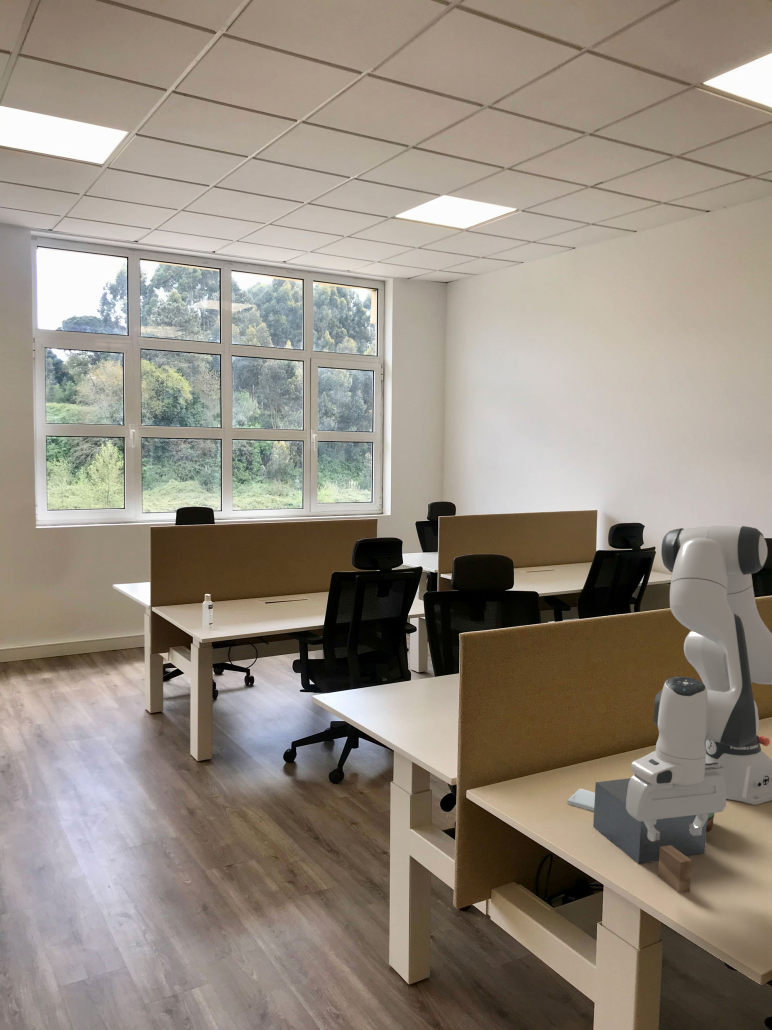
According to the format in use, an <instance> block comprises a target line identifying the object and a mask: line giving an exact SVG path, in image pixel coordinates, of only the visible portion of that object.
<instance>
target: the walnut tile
mask: <svg viewBox="0 0 772 1030" xmlns="http://www.w3.org/2000/svg"><path fill="white" fill-rule="evenodd" d="M692 864H693V860H692V859H690V858H689V856H685V855H683V854H682V853H681V852H679V851H678V850H677V849H675V848H674V847H673V846H671V845H668V846H661V847H660V852H659V861H658V869H657V871H658V872H657V877H658V878H659V879H660V880H662V881H663V882H664V883H665V884H666V885H668V887H670V888H671V889H673V890H674V891H675V892H676V893H678V894H681V893H682V894H683V893H688V892H690V891H691V878H692Z"/></svg>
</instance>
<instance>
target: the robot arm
mask: <svg viewBox="0 0 772 1030" xmlns="http://www.w3.org/2000/svg"><path fill="white" fill-rule="evenodd" d="M660 555H661V559H662V560H661V561H662V563H663V566H664V567H665V569H667V570H668V571H669V572H670V573H671V581H670V587H669V609H670V611H671V613H672V615H673V616H674V618H675V619H676V620H677V621H678V622H679V623H680V624H681V625H682V626H684V627H685V628H686V629H688V630H689V633H688V634H687V635H686V637H685V639H684V643H683V652H684V656H685V658H686V660H687V662H688V663H689V664H690V665H691V666H692V667H693V669H694V670H695V671H696V673H697V674H698V675H699V677H700V679H701V681H700V680H698V679H697V678H693V677H688V676H673V677H670V678H668V679H667V680H665V682H664V684H663V688H662V689H661V690H660V691H659V692H658V693H656V695H655V698H654V711H653V723H654V724H655V726H656V727H657V728H658V738H657V741H656V743H655V744H656V745H655V750H653V751H652V752H650V753H648V754H647V755H644V756H642V757H639V758H637V759H636V760H633V761H632V762H631V764H630V770H631V771H630V772H632V773H634V774H633V775H632V776H631V777H630V778H631V779H630V781H629V784H628V790H627V798H626V810H627V812H628V813H629V814H630V815H631V816H632V817H633V818H635V819H636V820H637V821H644V823H645V825H646V827H647V829H648V833H647V837H648V839H649V840H650V841H652V842H653V841H659V840H660V838H659V837H660V832H659V831H657V830H656V829H655V827H654V825H655V824H656V821H657V819H666V818H674V817H683V816H691V815H697V816H696V818H695V820H694V822H693V823H692V824H690V825H689V828H690V829H689V833H690V834H692V835H693V836H700V835H701V834H702V827H703V826H704V824H705V822H706V821H707V819H708V813H714V814H717V813H721V812H723V811H724V810H725V808H726V806H727V800H732V801H737V802H741V803H746V804H749V805H753V806H754V805H759V804H763V803H766V802H770V801H772V758H771V757H770V756H769V755H768V754H766V753H765V752H764V751H763V750H762V748H761V745H763V746H764V747H768V746H769V745H770V743H771V740H770V738H768V737H765V736H764V735H760V736H758V733H759V732H758V731H759V727H760V719H759V712H758V709H759V708H758V706H757V702H756V701H755V698H754V693H753V683H755V684H757V685H772V632H771V630H769V628H768V627H767V625H766V624H765V623H764V621H763V620H762V618H761V616H760V612H759V610H758V607H757V603H756V598H755V591H754V586H753V585H754V584H753V578H752V576H753V575H752V574H756V573H758V572H759V571H760V570H762V569H763V568H764V567H765V563H766V560H767V558H768V546H767V541H766V539H765V537H764V533H762V532H761V531H760V530H759V528H756V527H751V526H747V525H746V526H745V525H743V526H731V525H730V526H729V525H711V526H700V527H699V526H698V527H691V528H685V529H684V528H683V527H681V528H675V529H672V530H669V531H668V532H667V533H666V534H665V535H664V536H663V538H662V542H661V547H660Z"/></svg>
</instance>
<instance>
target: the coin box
mask: <svg viewBox="0 0 772 1030" xmlns="http://www.w3.org/2000/svg"><path fill="white" fill-rule="evenodd" d="M630 779H631V777H629V778H619V779H612V780H603V781H595V787H594V788H595V789H594V792H595V803H594V811H593V820H592V821H593V824H592V828H594V829H595V830H597V831H598V832H599V833H600V834H601V835H602V836H604V837H605V838H606V839H607V840H608V841H610V842H611V843H613V844H614V845H615V846H616V847H617V848H618V849H620V850H621V851H622V852H623V853H625V854H626V855H627V856H628V857H630V859H632V860H634V862H636V863H637V864H638V865H640V864H646V863H647V864H648V863H653V862H659V852H660V847H661V846H668V845H671V846H673V847H674V848H675V849H677V850H678V851H679V852H681V853H682V854H683V855H685V856H686V857H689V856H697V855H704V854H705V853H706V839H707V838H706V837H707V832H706V826H707V821H706V822H705V824H704V826H703V827H702V834H701V835H700V836H693V835H692V834H690V833H689V829H690V828H689V825H690V824H692V823H693V822H694V820H695V818H696V816H697V815H691V816H683V817H674V818H666V819H657V821H656V824H655V825H654V827H655V829H656V830H657V831H659V832H660V837H659V838H660V840H659V841H653V842H652V841H650V840H649V839H648V837H647V833H648V829H647V827H646V825H645V823H644V821H637V820H636V819H635V818H633V817H632V816H631V815H630V814H629V813H628V812H627V810H626V798H627V790H628V784H629V781H630Z"/></svg>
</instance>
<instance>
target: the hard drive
mask: <svg viewBox="0 0 772 1030" xmlns="http://www.w3.org/2000/svg"><path fill="white" fill-rule="evenodd" d="M594 803H595V791H594V792H593V791H590V790H587V789H584V788H579V789H577V790H576V791H575V793H573V794H572V795H571V796H570V797H569V798H568V799H567V803H566V804H567V805H570V806H573V807H577V808H579V809H584V810H587V811H591V812H594Z"/></svg>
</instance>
